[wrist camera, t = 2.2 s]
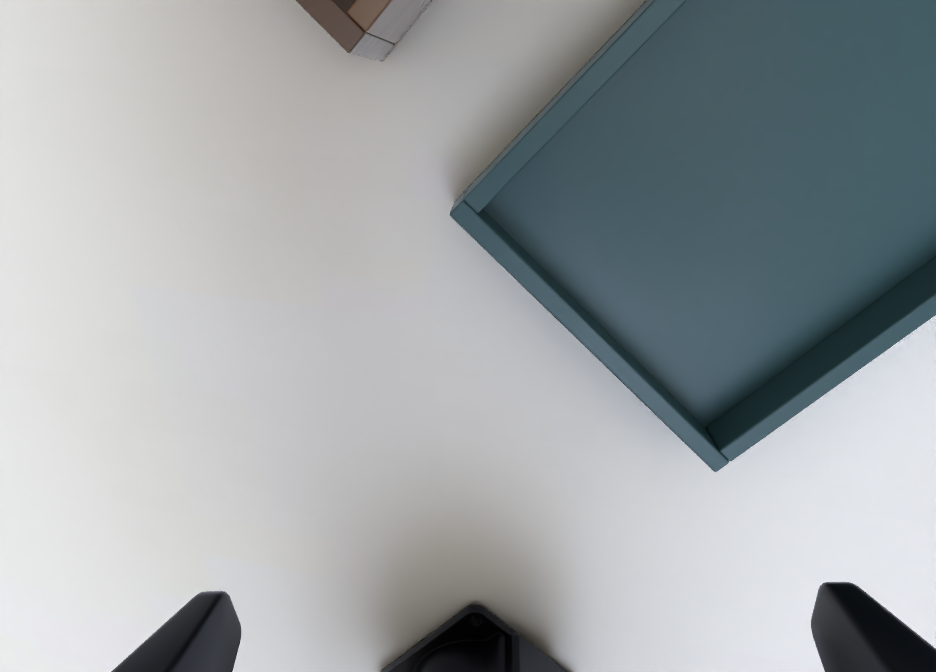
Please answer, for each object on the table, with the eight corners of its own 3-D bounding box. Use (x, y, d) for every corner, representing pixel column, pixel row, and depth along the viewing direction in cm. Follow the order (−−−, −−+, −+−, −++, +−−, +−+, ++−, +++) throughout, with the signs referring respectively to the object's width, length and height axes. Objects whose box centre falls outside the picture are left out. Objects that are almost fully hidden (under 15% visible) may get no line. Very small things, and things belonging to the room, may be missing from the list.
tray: (697, 441, 22) (715, 473, 20) (453, 202, 19) (448, 214, 17) (1282, 7, 16) (1383, -5, 14) (1051, -426, 13) (1140, -509, 12)
